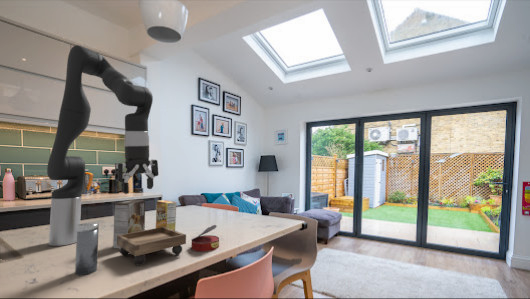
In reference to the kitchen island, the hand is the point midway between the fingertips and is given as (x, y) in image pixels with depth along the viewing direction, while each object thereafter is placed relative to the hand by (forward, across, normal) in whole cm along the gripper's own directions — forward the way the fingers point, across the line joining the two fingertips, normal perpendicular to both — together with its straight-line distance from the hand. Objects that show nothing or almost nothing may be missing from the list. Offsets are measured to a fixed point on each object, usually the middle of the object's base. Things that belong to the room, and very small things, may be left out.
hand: (138, 191), depth 87 cm
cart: (+20, +1, +8) cm, 22 cm away
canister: (+18, +19, +5) cm, 27 cm away
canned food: (+22, -15, +17) cm, 31 cm away
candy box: (+23, -12, -2) cm, 26 cm away
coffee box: (+22, -1, -8) cm, 24 cm away
